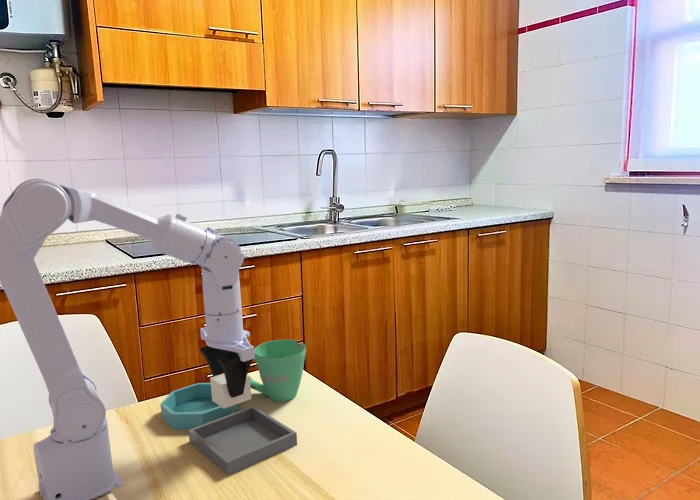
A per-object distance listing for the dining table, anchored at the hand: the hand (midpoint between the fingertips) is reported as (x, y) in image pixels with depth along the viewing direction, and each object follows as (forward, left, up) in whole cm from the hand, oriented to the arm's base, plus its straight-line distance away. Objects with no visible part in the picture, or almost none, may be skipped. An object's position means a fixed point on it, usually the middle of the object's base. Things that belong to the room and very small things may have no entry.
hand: (229, 390), depth 89 cm
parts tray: (0, -3, -8) cm, 9 cm away
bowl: (0, +12, -8) cm, 15 cm away
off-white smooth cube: (0, 0, -2) cm, 2 cm away
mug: (+13, +9, -9) cm, 18 cm away
